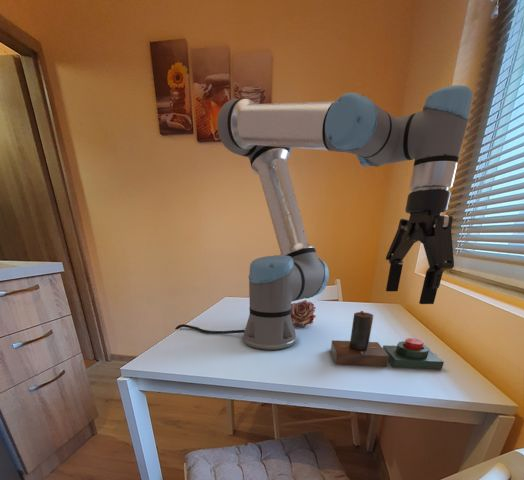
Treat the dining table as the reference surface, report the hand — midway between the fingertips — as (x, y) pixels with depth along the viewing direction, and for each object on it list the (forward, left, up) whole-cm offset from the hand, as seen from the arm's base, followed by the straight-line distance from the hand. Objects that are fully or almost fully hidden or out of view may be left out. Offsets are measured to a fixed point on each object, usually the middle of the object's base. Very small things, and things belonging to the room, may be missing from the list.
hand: (407, 297), depth 64 cm
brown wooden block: (-9, 0, -16) cm, 18 cm away
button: (+4, 0, -12) cm, 13 cm away
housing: (+4, 0, -16) cm, 17 cm away
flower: (-22, +26, -16) cm, 38 cm away
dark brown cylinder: (-9, 0, -13) cm, 16 cm away
